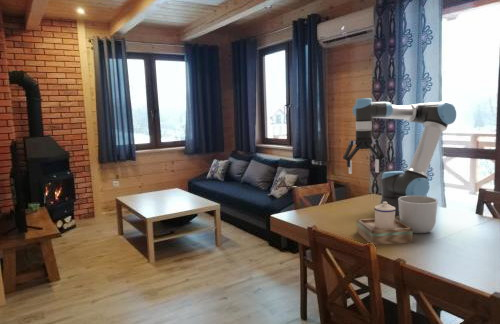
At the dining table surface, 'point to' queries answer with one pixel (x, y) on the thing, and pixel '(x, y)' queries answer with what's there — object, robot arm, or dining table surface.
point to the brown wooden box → (384, 232)
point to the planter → (418, 212)
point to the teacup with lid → (385, 216)
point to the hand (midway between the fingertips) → (363, 173)
